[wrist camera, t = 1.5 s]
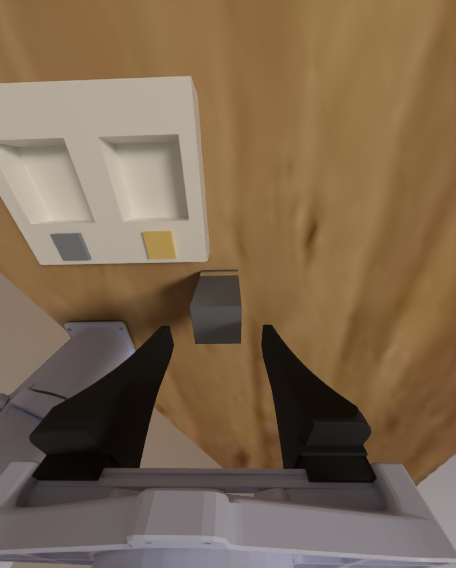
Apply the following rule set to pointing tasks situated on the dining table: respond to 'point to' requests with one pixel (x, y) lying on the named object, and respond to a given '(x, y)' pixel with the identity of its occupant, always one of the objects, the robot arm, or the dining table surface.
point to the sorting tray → (105, 170)
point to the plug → (217, 308)
